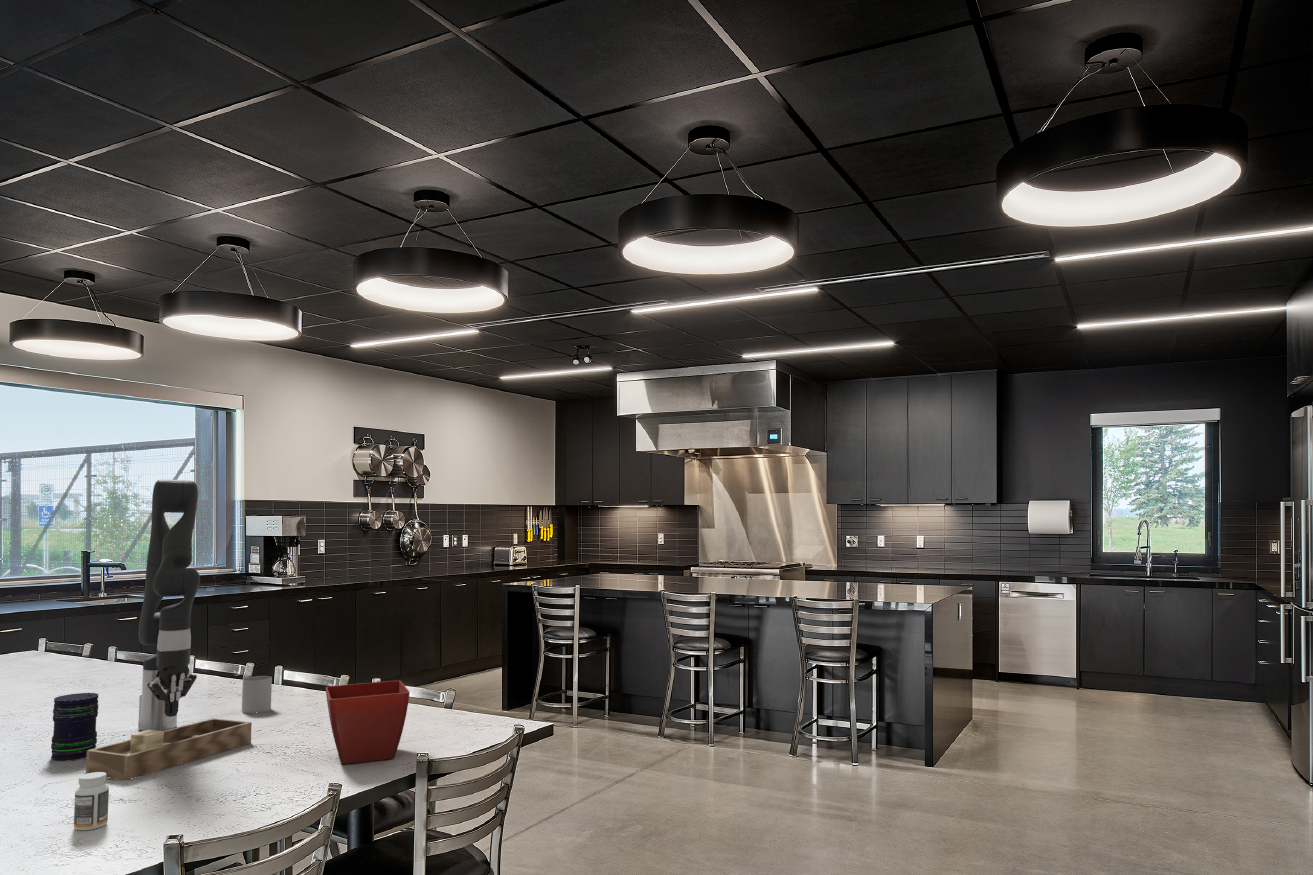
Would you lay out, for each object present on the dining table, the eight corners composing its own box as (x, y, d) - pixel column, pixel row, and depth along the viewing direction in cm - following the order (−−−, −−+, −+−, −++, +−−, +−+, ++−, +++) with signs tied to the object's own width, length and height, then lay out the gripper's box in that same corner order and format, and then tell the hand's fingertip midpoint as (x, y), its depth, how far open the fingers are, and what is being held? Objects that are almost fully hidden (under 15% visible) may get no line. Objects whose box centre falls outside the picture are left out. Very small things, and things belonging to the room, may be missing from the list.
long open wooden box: (212, 738, 244) (213, 718, 244) (250, 742, 239) (251, 722, 239) (85, 774, 211) (86, 750, 211) (126, 780, 206) (127, 756, 206)
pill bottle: (99, 819, 179) (101, 769, 180) (112, 825, 176) (115, 773, 177) (68, 827, 174) (70, 776, 175) (81, 833, 171) (83, 780, 172)
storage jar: (47, 763, 221) (50, 702, 222) (53, 753, 229) (56, 695, 231) (94, 757, 225) (97, 698, 226) (98, 748, 234) (100, 691, 235)
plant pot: (323, 751, 230) (325, 685, 232) (399, 743, 238) (400, 679, 239) (327, 770, 213) (329, 698, 214) (409, 761, 220) (410, 692, 222)
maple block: (130, 755, 216) (130, 734, 217) (147, 749, 221) (148, 729, 221) (145, 756, 214) (146, 735, 215) (163, 751, 219) (163, 730, 220)
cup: (259, 713, 274) (260, 681, 275) (235, 712, 276) (237, 680, 277) (276, 708, 282) (277, 676, 283) (253, 707, 284) (254, 675, 285)
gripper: (186, 642, 234) (183, 708, 232) (140, 649, 221) (136, 720, 220) (206, 644, 231) (204, 711, 230) (161, 652, 219) (158, 723, 217)
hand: (171, 715), depth 225 cm, fingers closed
